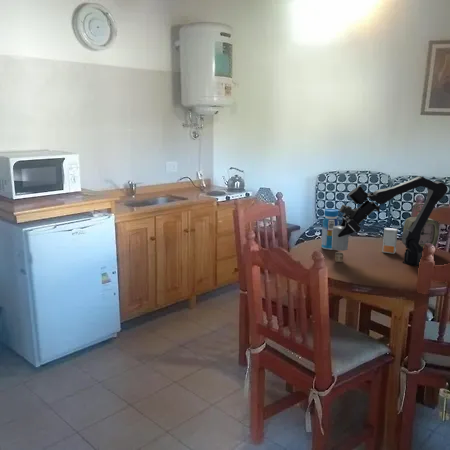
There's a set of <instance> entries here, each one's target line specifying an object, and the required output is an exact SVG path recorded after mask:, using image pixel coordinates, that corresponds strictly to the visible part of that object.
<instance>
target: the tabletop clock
mask: <svg viewBox="0 0 450 450" xmlns="http://www.w3.org/2000/svg"><path fill="white" fill-rule="evenodd" d="M423 205H424V203H419V204H417V205H415V208H414V209H415V211H416V212H418V213H417V214H416V215H415V216H412V217H411V216H410V217H407V218H406V219H405V221H404V224H403V229H402V230H403V231H402V235H403V234H404V231H405V229H408V230H409V229H410V228H411V227H412V226H413V224H414V222H415V220H416V218H417V216H418V214H419V212H420V210H419V209H417V208H418V207H419V206H423ZM439 231H440V225H439V221H436V220H434V219H432V218H430V217H429V218H428V220H427V222H426V224H425V225H424V227H423V229H422V231H421V237H420V241H419V245H420V246H421V247H422V248H423V246H424V244H425V243H431V244H433V245H434V246H435V247H436V246H437V244H438V240H439V233H440V232H439Z"/></svg>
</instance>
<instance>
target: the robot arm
mask: <svg viewBox="0 0 450 450" xmlns="http://www.w3.org/2000/svg"><path fill="white" fill-rule="evenodd" d="M419 187H423V188H425V189H427V194H426V200H425V201H424V203H423V204H424V205H422V207H421V209H420V210H419V211H420V212H418V213H419V214H418V213H417V214H418V216H417V218H416V220H415V222H414V224H413V226H412V227H411V228H410V229H409V230H408V229H405V231H404V234H403V233H402V234H401V242H402V244H403V245H404V246H405V251H404V254H403V255H404V257H403V261H402V263H403V264H406V265H410V266H412V267H416V266H419V262H420V259H421V260H422V255H423V251H424V249H423V248H422V247H421V246H420V245H419V241H420V237H421V231H422V229H423V227H424V225H425V224H426V222H427V220H428V218H430V216H431V214H432V212H433V210H434V209H435V207H436V204H437V203H438V202H440V201H441V200H442V199H443V198H444V197H445V195H446V194H447V192H448V186H447V184H446V183H444V182H441V181H438V180H435V181H432V180H429V179H427V178H425V177H424V176H420V175H419V176H416V177H415V178H412V179H409V180H406V181H404V182H402V183H400V184H397V185H395V186H391V187H387V188H381V189H377V190H374V191H373V192H366V191H365V190H364V189H363V187H362V186H361V185H358V186H357V187H355V188H354V189H352V190H350V192H349V193H348V197H349V199H350V200H352V202H354V204H356V205H360V206H358V207H355V208H352V207H351V206H349V205H345V204H342V205H341V207H340V208H339V211H340V213H342V217H341V223H340V224H339V226H345V227H344V228H343V229H342V231H341V232H340V233H339V234H338V237H342V236H345V235H348V234H349V235H351V234H355V233H359V232H360V231H361V226H360V225H361V223H362V222H363V221H364V220H365V221H366V220H367V218H368V217H369V216H370V215H371V214H372V213H373V212H374V211H376V212H378V213H380V212H381V206H380V205H384V204H386V203H388V202H389V201H391V200H392V199H393V198H395V197H396V196H398V195H402V194H404V193H407V192H409V191H412V190H415V189H416V188H417V189H418V188H419ZM377 204H379V205H377ZM349 235H348V236H349Z"/></svg>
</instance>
